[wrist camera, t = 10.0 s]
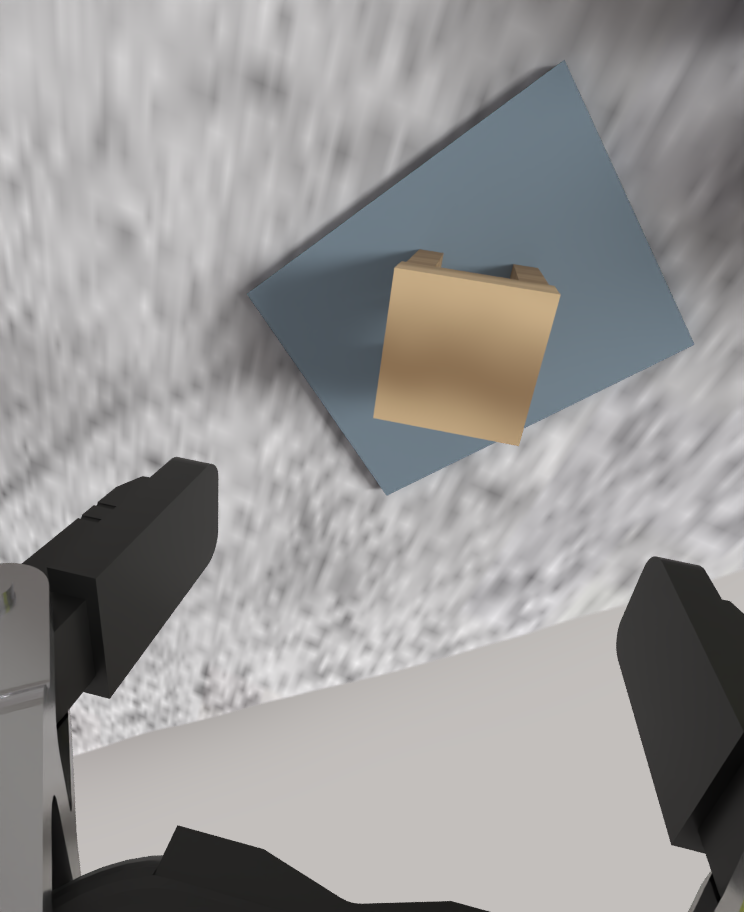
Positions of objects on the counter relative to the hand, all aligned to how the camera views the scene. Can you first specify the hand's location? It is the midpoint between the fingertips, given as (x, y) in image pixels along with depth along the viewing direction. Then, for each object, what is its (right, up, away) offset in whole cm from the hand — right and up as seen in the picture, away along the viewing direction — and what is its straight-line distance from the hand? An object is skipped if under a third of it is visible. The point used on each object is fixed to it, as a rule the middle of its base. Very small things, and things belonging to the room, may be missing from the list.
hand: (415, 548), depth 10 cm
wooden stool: (+4, +9, +18) cm, 21 cm away
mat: (+4, +9, +19) cm, 22 cm away
